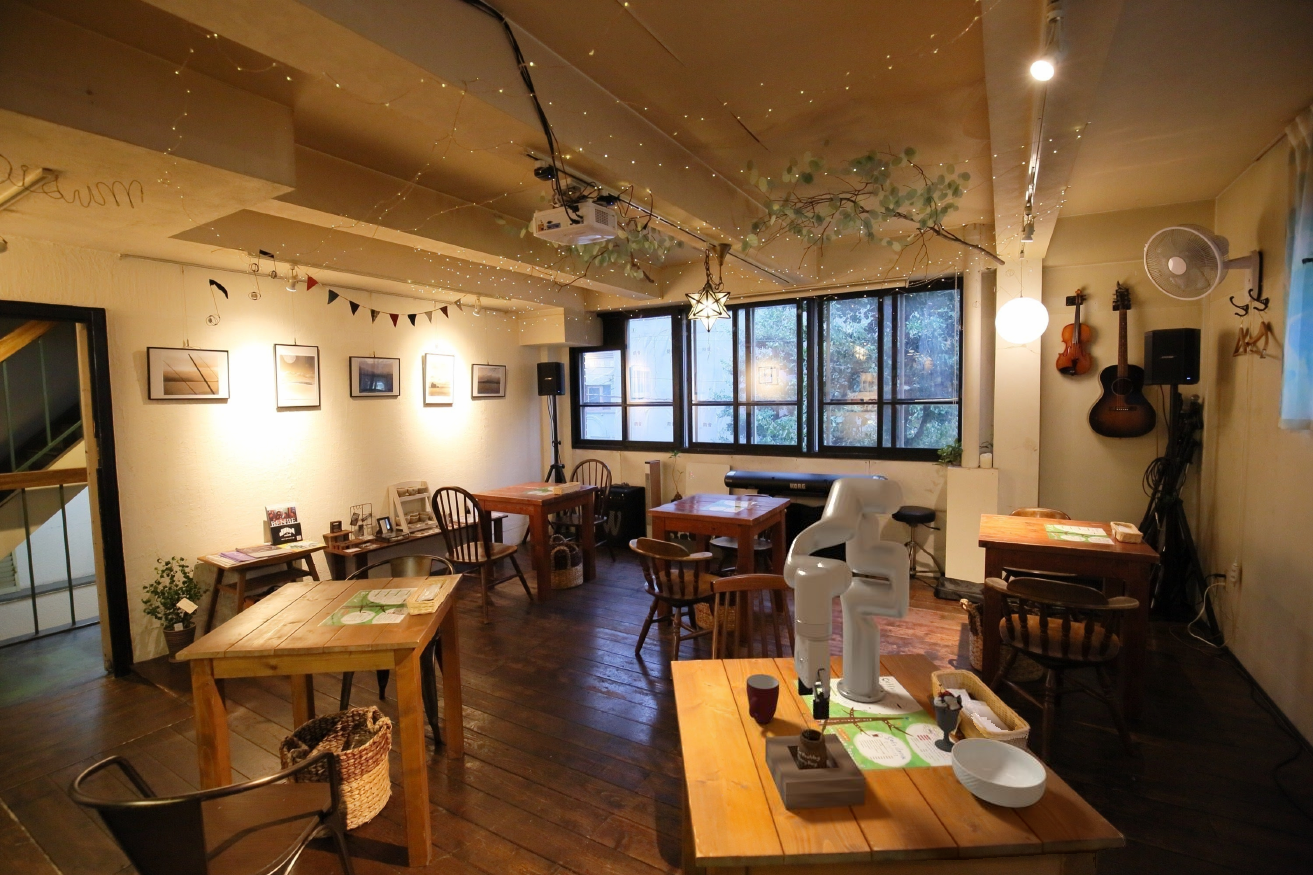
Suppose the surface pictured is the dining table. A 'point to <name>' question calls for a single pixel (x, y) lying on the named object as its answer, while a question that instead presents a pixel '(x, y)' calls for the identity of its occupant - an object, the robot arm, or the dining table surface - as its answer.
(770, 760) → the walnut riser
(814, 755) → the utensil holder
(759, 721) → the mug
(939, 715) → the sundae
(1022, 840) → the dining table surface
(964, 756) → the cereal bowl
